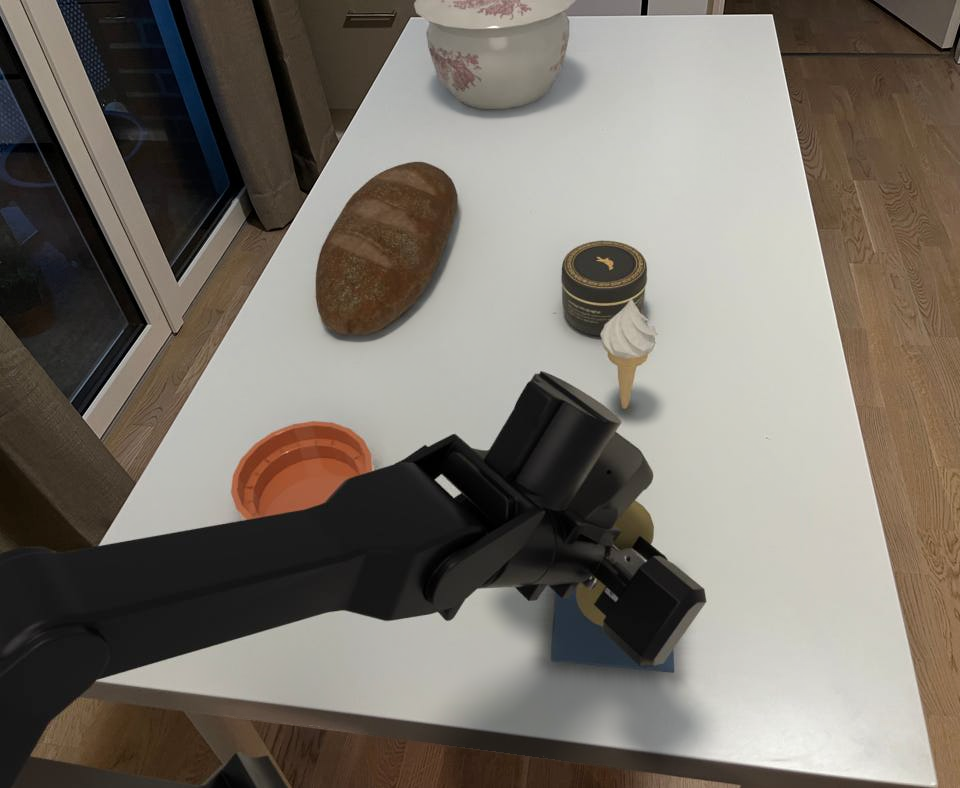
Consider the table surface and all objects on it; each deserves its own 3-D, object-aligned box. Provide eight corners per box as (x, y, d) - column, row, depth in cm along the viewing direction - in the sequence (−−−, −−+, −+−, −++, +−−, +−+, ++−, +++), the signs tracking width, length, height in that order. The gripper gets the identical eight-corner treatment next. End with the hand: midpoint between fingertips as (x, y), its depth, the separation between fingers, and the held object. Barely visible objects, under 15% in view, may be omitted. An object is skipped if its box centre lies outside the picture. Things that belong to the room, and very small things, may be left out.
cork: (608, 642, 63) (616, 564, 55) (561, 589, 67) (561, 509, 59) (665, 602, 65) (679, 521, 57) (615, 552, 69) (623, 470, 61)
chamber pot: (551, 136, 131) (549, 3, 116) (401, 120, 139) (382, -5, 125) (595, 66, 149) (598, -56, 134) (460, 56, 157) (449, -60, 143)
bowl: (327, 578, 74) (316, 551, 70) (216, 528, 79) (202, 500, 76) (404, 474, 82) (397, 445, 79) (299, 435, 87) (289, 406, 84)
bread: (476, 189, 121) (471, 137, 115) (412, 347, 96) (402, 292, 90) (378, 185, 124) (369, 135, 118) (292, 337, 99) (275, 283, 93)
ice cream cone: (653, 425, 84) (665, 315, 73) (600, 428, 84) (605, 318, 74) (646, 388, 88) (656, 279, 77) (595, 391, 88) (599, 282, 78)
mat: (551, 661, 66) (551, 659, 66) (558, 568, 72) (558, 566, 72) (673, 672, 65) (674, 670, 64) (670, 576, 71) (670, 575, 71)
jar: (587, 280, 103) (588, 230, 97) (658, 304, 98) (663, 253, 93) (546, 323, 97) (544, 272, 92) (619, 351, 93) (622, 299, 87)
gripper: (707, 526, 43) (789, 534, 55) (487, 359, 54) (597, 396, 66) (598, 685, 45) (701, 659, 57) (408, 493, 56) (528, 505, 68)
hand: (628, 544), depth 62 cm, fingers closed on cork, 5 cm apart
